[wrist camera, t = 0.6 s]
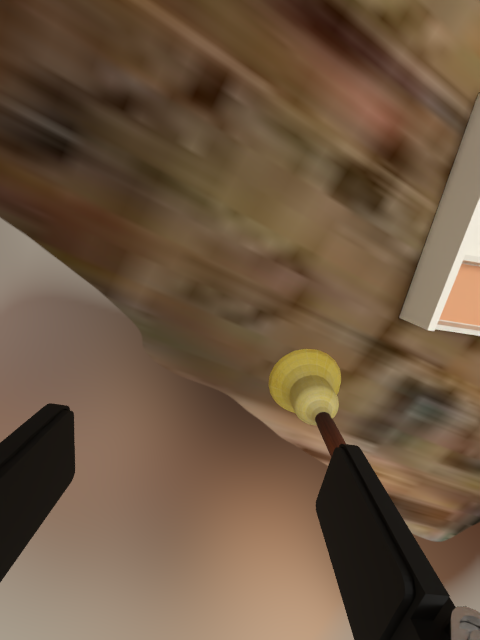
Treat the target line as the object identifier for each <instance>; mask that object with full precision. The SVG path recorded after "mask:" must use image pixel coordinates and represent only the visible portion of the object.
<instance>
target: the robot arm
mask: <svg viewBox="0 0 480 640" xmlns="http://www.w3.org/2000/svg"><path fill="white" fill-rule="evenodd" d="M74 473H75V446H74V413H73V412H72V411H70V408H69V407H68V406H64V405H58V404H47V405H46V406H44V407H43V408H42V409H41V410H39V411H38V412H37V413H36V414H35V415H33V416H32V417H31V418H30V419H28V420H27V421H26V422H25V423H24V424H22V425H21V426H20V427H19V428H18V429H16V430H15V431H14V432H13V433H12V434H11V435H9V436H8V437H7V438H6V439H4V440H3V441H2V442H1V443H0V582H1V581H2V579H3V578H4V576H5V575H6V573H7V572H8V571H9V569H10V568H11V566H12V565H13V564H14V562H15V561H16V559H17V558H18V557H19V555H20V554H21V552H22V551H23V549H24V548H25V547H26V545H27V544H28V542H29V541H30V539H31V538H32V537H33V535H34V534H35V532H36V531H37V530H38V528H39V527H40V525H41V524H42V522H43V521H44V520H45V518H46V517H47V515H48V514H49V513H50V511H51V510H52V508H53V507H54V506H55V504H56V503H57V501H58V500H59V498H60V497H61V496H62V494H63V493H64V491H65V490H66V489H67V487H68V486H69V484H70V483H71V481H72V479H73V477H74ZM316 511H317V515H318V519H319V522H320V525H321V529H322V532H323V535H324V539H325V542H326V546H327V549H328V552H329V556H330V559H331V562H332V565H333V569H334V572H335V576H336V579H337V583H338V586H339V589H340V593H341V596H342V600H343V603H344V606H345V610H346V613H347V616H348V620H349V623H350V626H351V630H352V633H353V637H354V640H480V613H479V612H478V611H476V610H474V609H471V608H469V607H466V606H463V607H462V606H460V607H455V606H454V604H453V602H452V601H451V599H450V598H449V594H448V593H447V591H446V589H445V588H444V586H443V584H442V583H441V581H440V579H439V578H438V576H437V574H436V573H435V571H434V570H433V568H432V566H431V565H430V563H429V561H428V560H427V558H426V556H425V555H424V553H423V551H422V550H421V548H420V546H419V545H418V543H417V541H416V540H415V538H414V536H413V535H412V533H411V531H410V530H409V528H408V526H407V525H406V523H405V522H404V520H403V518H402V517H401V515H400V513H399V512H398V510H397V508H396V507H395V505H394V503H393V502H392V500H391V498H390V497H389V495H388V493H387V492H386V490H385V488H384V487H383V485H382V484H381V482H380V480H379V479H378V477H377V475H376V474H375V472H374V470H373V469H372V467H371V465H370V464H369V462H368V460H367V459H366V457H365V455H364V454H363V452H362V451H361V449H360V448H359V447H358V446H355V445H348V444H340V445H339V447H336V448H335V449H334V452H333V455H332V457H331V460H330V463H329V466H328V469H327V472H326V474H325V477H324V480H323V483H322V486H321V489H320V491H319V494H318V497H317V500H316Z"/></svg>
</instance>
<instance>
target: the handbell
mask: <svg viewBox="0 0 480 640" xmlns="http://www.w3.org/2000/svg"><path fill="white" fill-rule="evenodd" d="M340 383H341V374H340V369H339V367H338V365H337V363H336V362H335V360H333V359H332V358H331V357H330V356H329V355H328V354H326V353H324V352H321V351H319V350H314V349H302V350H297V351H293V352H291V353H289V354H287V355H285V356H284V357H282V358H281V359H280V360H279V361H278V362H277V363H276V364H275V366H274V368H273V370H272V371H271V373H270V378H269V389H270V394H271V396H272V397H273V399H274V400H275V402H276V403H277V404H279V405H280V406H281V407H282V408H284V409H285V410H288V411H291V412H293V413H296V415H297V416H298V418H299V419H300V420H302V421H303V422H305V423H307V424H310V425H317V426H318V428H319V431H320V433H321V435H322V437H323V440H324V442H325V444H326V446H327V448H328V451H329V453H330V455H331V457H332V455H333V452H334V449H335V448H336V447H339V445H340V444H346V443H345V441H344V439H343V437H342V436H341V434H340V432H339V430H338V428H337V427H336V425H335V423H334V421H333V419H332V418H333V417H334V416H335V415H336V413H337V411H338V407H339V402H338V397H337V393H338V392H339V387H340Z"/></svg>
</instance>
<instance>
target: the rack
mask: <svg viewBox="0 0 480 640" xmlns="http://www.w3.org/2000/svg"><path fill="white" fill-rule="evenodd" d="M399 318H401V319H403V320H405V321H407V322H410V323H412V324H414V325H417V326H419V327H421V328H424V329H426V330H430V331H435V329H438V330H444V331H451V332H458V333H464V334H471V335H477V336H480V93H478V96H477V99H476V102H475V104H474V107H473V110H472V113H471V116H470V118H469V121H468V124H467V127H466V130H465V133H464V135H463V138H462V141H461V144H460V147H459V150H458V152H457V155H456V158H455V161H454V164H453V166H452V169H451V172H450V175H449V178H448V181H447V183H446V186H445V189H444V192H443V195H442V198H441V200H440V203H439V206H438V209H437V212H436V214H435V217H434V220H433V223H432V226H431V229H430V231H429V234H428V237H427V240H426V243H425V245H424V248H423V251H422V254H421V257H420V260H419V262H418V265H417V268H416V271H415V274H414V277H413V279H412V282H411V285H410V288H409V291H408V293H407V296H406V299H405V302H404V305H403V308H402V310H401V313H400V316H399Z"/></svg>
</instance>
